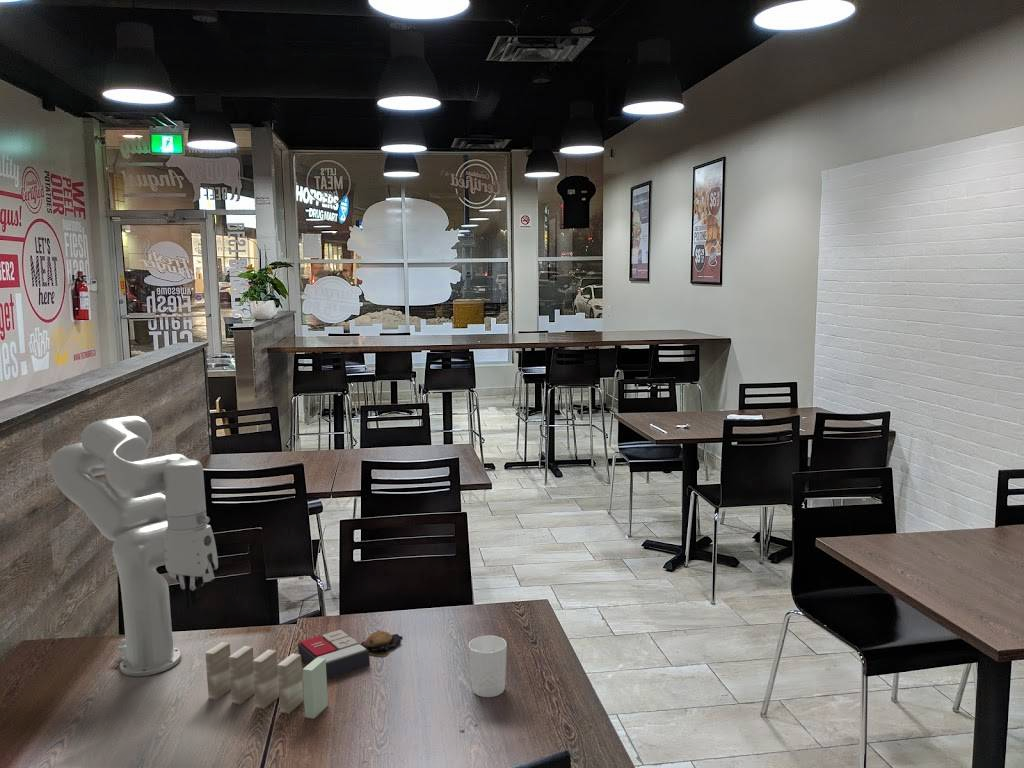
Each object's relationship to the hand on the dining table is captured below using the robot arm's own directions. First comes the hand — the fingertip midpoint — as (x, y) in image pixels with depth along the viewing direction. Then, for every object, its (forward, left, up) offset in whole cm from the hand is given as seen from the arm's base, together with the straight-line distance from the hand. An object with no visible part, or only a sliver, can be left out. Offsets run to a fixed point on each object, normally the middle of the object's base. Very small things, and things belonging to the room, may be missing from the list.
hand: (193, 605), depth 162 cm
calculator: (+20, +20, -19) cm, 34 cm away
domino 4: (+23, 0, -19) cm, 29 cm away
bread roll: (+27, +29, -19) cm, 44 cm away
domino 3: (+17, 0, -19) cm, 25 cm away
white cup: (+58, +18, -19) cm, 64 cm away
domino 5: (+28, 0, -19) cm, 34 cm away
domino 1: (+5, 0, -19) cm, 19 cm away
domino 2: (+11, 0, -19) cm, 22 cm away
